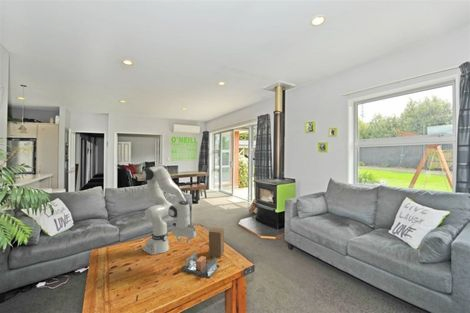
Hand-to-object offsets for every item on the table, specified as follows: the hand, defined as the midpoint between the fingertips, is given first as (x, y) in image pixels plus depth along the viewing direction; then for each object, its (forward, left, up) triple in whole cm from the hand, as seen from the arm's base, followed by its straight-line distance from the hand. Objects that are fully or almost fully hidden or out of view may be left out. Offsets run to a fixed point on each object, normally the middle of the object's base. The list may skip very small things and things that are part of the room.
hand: (183, 242), depth 151 cm
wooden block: (+15, +23, -17) cm, 32 cm away
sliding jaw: (+7, 0, -15) cm, 17 cm away
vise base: (+15, 0, -17) cm, 23 cm away
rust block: (+15, 0, -16) cm, 22 cm away
